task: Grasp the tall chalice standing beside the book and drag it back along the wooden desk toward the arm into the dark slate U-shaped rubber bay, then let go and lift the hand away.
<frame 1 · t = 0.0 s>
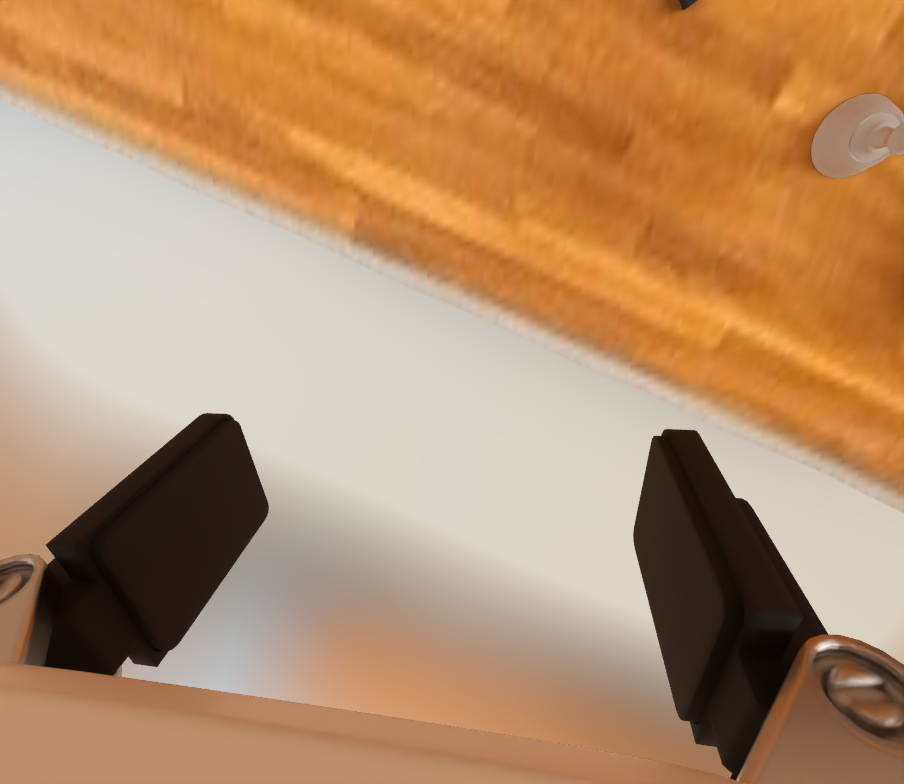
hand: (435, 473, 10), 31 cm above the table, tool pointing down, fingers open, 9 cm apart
chalice: (851, 137, 30), on the table
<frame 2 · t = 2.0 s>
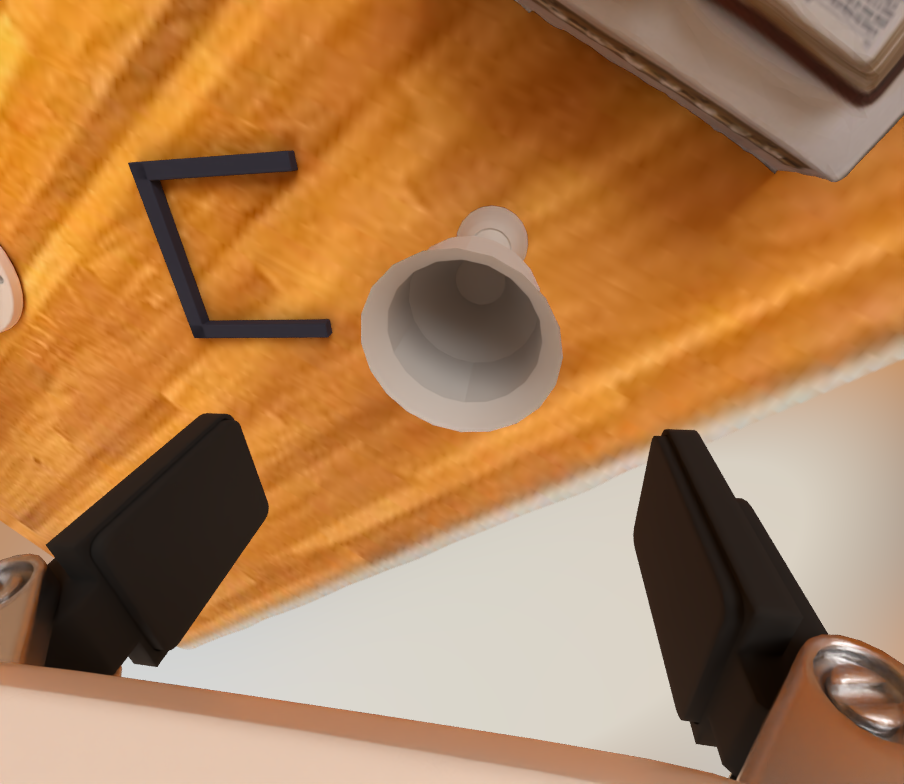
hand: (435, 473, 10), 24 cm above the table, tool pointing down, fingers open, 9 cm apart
chalice: (491, 243, 31), on the table
bay: (256, 252, 34), on the table
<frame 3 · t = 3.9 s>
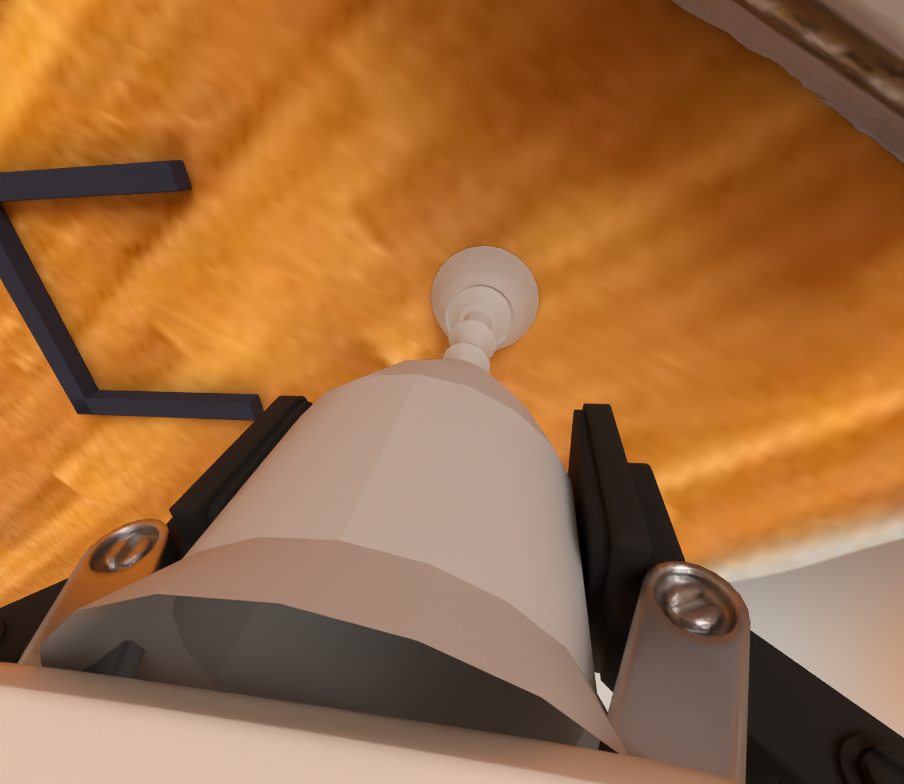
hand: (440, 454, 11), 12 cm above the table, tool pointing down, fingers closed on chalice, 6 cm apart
chalice: (484, 300, 21), on the table, touching gripper
bay: (148, 304, 23), on the table
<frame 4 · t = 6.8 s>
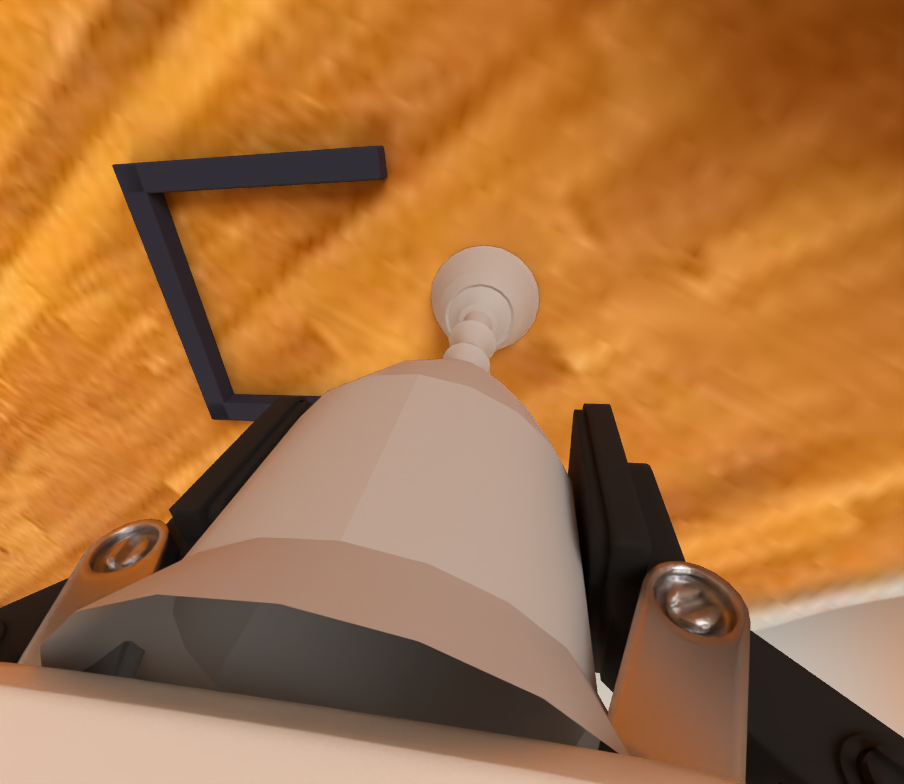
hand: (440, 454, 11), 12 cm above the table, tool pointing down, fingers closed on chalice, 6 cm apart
chalice: (484, 300, 21), on the table, touching gripper
bay: (309, 303, 22), on the table
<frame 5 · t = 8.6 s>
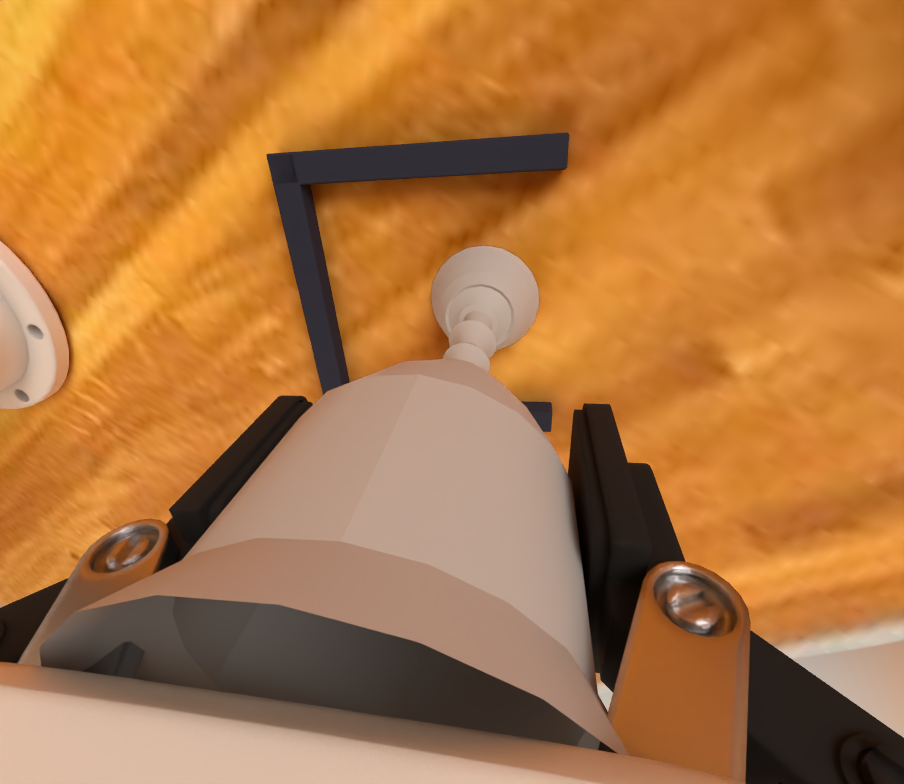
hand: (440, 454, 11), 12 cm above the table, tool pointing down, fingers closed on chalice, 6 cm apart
chalice: (484, 300, 21), on the table, touching gripper
bay: (453, 301, 21), on the table
when the fingers open (12 cm above the table, at t = 9.7 s): chalice stays where it is, on the table.
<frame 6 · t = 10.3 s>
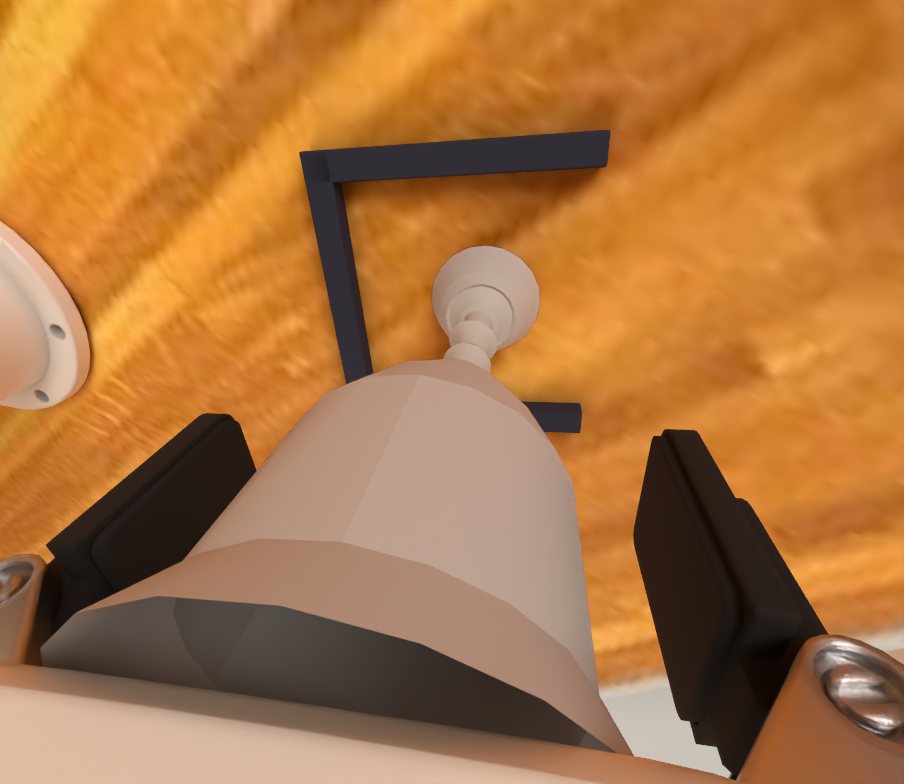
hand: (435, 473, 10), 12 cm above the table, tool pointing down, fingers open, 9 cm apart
chalice: (485, 300, 21), on the table
bay: (483, 301, 21), on the table
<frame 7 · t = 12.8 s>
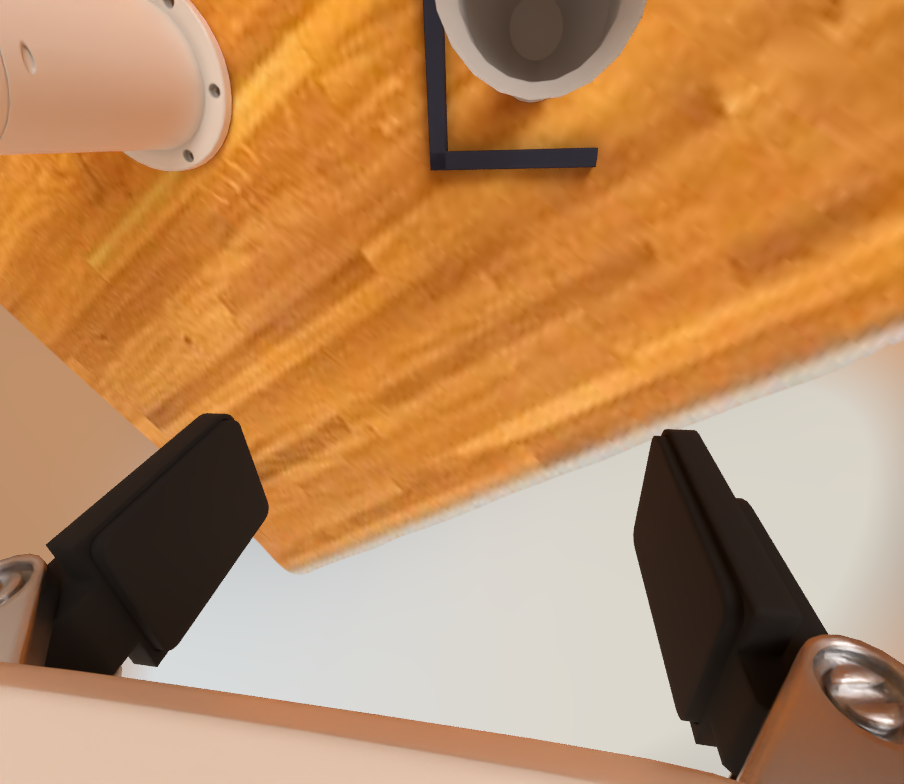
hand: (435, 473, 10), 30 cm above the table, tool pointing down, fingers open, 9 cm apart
chalice: (534, 58, 30), on the table
bay: (533, 57, 29), on the table
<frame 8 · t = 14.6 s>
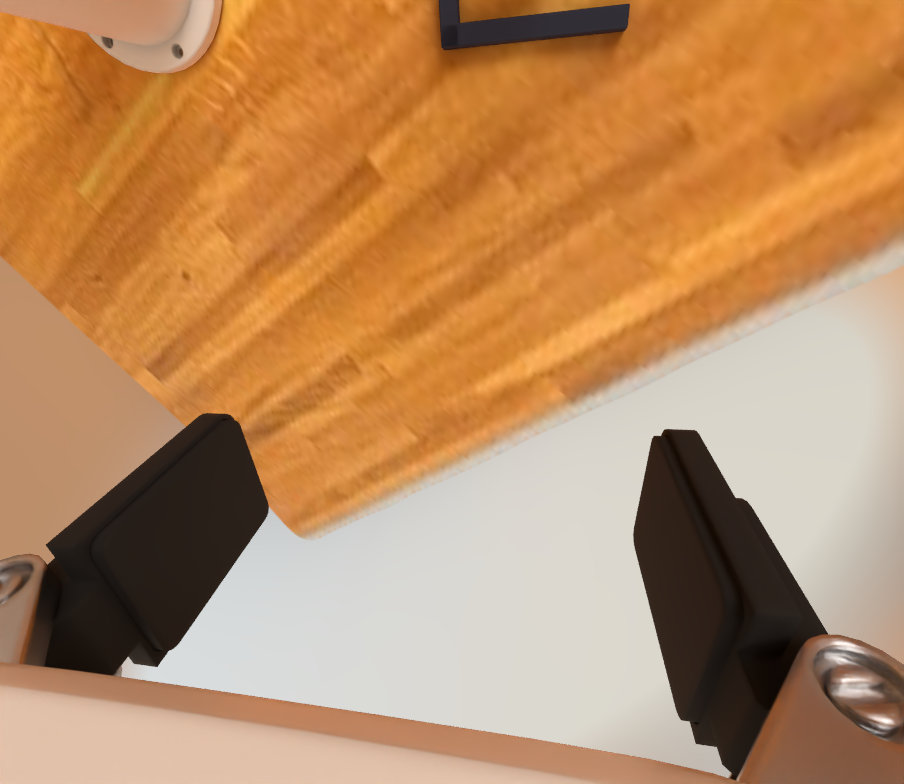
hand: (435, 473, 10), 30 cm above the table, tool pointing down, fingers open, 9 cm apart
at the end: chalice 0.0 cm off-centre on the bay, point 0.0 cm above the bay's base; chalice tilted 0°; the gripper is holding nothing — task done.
